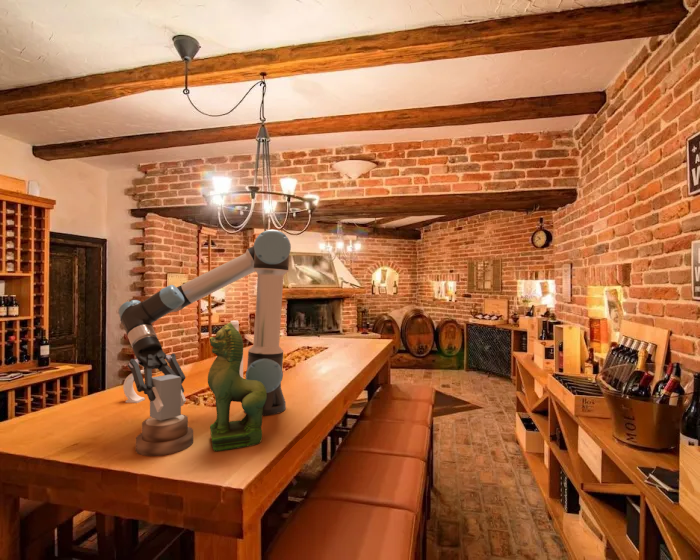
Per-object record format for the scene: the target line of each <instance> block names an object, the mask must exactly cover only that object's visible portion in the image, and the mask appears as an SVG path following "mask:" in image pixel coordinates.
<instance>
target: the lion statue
mask: <svg viewBox="0 0 700 560" xmlns="http://www.w3.org/2000/svg"><path fill="white" fill-rule="evenodd" d="M209 343H210V346H211V347H212V348H211V352H212V354H214V355H216V357H215V359H214V360H213V362H212V364H211V365H210V368H209V370H208V373H207V374H208V375H207V384H208V387H209V390H211V392H212V393H213V395H214V399H215V409H216V410H215V411H216V420H215V421H214V422H213V423H211V424H210V428H209V429H210V437H211V439H210V440H211V444H212V445H211V446H212V450H213V451H214V452H220V451H223V452H224V451H230V450H234V449H239V448H240V449H242V448H247V447H248V448H249V447H251V446H255V445H258V444H260V443H261V442H262V440H263V439H262V438H263V430H262V423H263V416H262V412H263V406H264V404H265V401H266V397H267V392H266V388H265V386H264V385H263V384H262V383H261V382H260V381H257V380H246V378H244V377H243V378H242V377H241V376H240V364H241V361H242V358H243V359H244V341H243V337H242V334H241V333H240V331H239V332H238V331H237V330H236V329H235V328H234V326H233V325H232V323H230V322H228V323H226V324H225V325H223V326H222V327H221V328H220V329H219V330H217V332H216V333H215V336H210V337H209ZM232 402H235V403H236V402H237V403H241V407H242V410H243V412H244V411H245V412H246V413H245V412H244V413H245V415H244V417H243V418H242V419H241V420H234V421H233V420H232V421H230V410H231V403H232Z"/></svg>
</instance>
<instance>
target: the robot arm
mask: <svg viewBox="0 0 700 560" xmlns="http://www.w3.org/2000/svg"><path fill="white" fill-rule="evenodd" d="M253 243H254V244H253V245H252V246H250V247H249V248H247V249H246V251H245V252H244V253H243V254H241V255H239V256H237V257H235V258H233V259H231V260H229V261H227V262H225V263H223V264H220V265H219V266H216V267H215V268H213V269H211V270H208V271H206V272H204V273H203V274H200V275H198V276H196V277H195V278H193V279H191V280H189V281H187V282H184V283H183V284H181V285H178V286H177V287H176V286H175V284H169V285H167V286H165V287H164V288H161V289H160V290H158V291H157V292H156V293H154V294H152V295H151V296H148V297H147V298H145V299H144V300H143V301H142V300H141V301H140V300H138V299H132V300H130V301H128V300H127V301H126V302H124V303H122V304H121V305H120V306H119V308H118V315H119V318H120V322H121V324H122V327H123V329H124V331H125V333H126V336H127V338H128V341H129V343H130V346H131V348H132V351H133V353H134V356H135V358H131V359H130V360H129V362H128V364H127V367H128V369H129V370H130V371H131V374H133V378H134V381H133V382H134V385H135V387H136V390H137V392H138V393H141V392H143V394H145V395H147V398H148V400H149V402H150V401H153V403H154V405H155V408H156V410H157V412H160V411H161V409H162V408H163V403H162V401H161V399H160V397H159V394H158V392H157V389H156V387H153V388H152V377H153V375H152V374H153V372H152V371H153V370H154V369H157V371H159V372H162V374H163V375H169V374H171V375H176V376H179V377H181V407H182V406H184V404H185V403H186V402H187V399H186V397H185V394H184V392H185V388H184V386H183V383H184V381H185V380H186V378H187V377H186V376H185V374H184V372H183V370H182V368H181V366H180V364H179V363H178V360H177V357H176V354H175V353H171V354H167V353H165V351H163V346H162V345H161V342H160V340H159V338H158V335H157V333H156V331H155V329H154V326H153V323H154V322H157V321H158V320H160V319H161V318H162V317H165V316H166V315H168V314H170V313H174V312H179V311H182V310H183V309H184V308H186V307H188V306H189V305H191V304H193V303H195V302H197V301H199V300H201V299H203V298H205V297H207V296H209V295H212V294H213V293H215V292H217V291H220V290H221V289H223V288H225V287H227V286H229V285H231V284H233V283H235V282H237V281H239V280H241V279H243V278H245V277H246V276H249V275H251V274H253V273H257V279H256V280H257V281H256V298H255V316H254V326H253V327H254V329H253V331H254V332H253V342H252V343H253V345H251V347H250V348H248V351H247V365H246V368H247V369H246V372H245V379H246V380H257V381H260V382H261V383H262V384H263V385H264V386H265V388H266V392H267V397H266V401H265V404H264V406H263V412H262V417H263V416H264V417H265V416H271V415H272V416H273V415H277V414H280V413H282V412H284V411H285V410H286V399H285V397H284V393H283V390H282V381H283V377H284V373H283V362H284V350H283V348H281V345H280V339H281V337H280V336H281V324H282V323H281V322H282V307H283V306H282V305H283V290H284V289H283V288H284V276H285V275H286V274H287V273H288V272H289V266H290V265H289V263H290V253H291V248H292V246H291V242H290V240H289V237H288V236H287V235H286V234H285V233H284V232H282V231H280V230H277V229H267V230H265V231H262V232H260V233H259V234H258V235H257V237H256V238H255V240H254V242H253ZM140 366H142V367H143V370H144V372H143V373H144V378H143V373H141V368H140ZM243 412H244V413H245V414H246V412H245V411H244V410H243Z"/></svg>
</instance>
